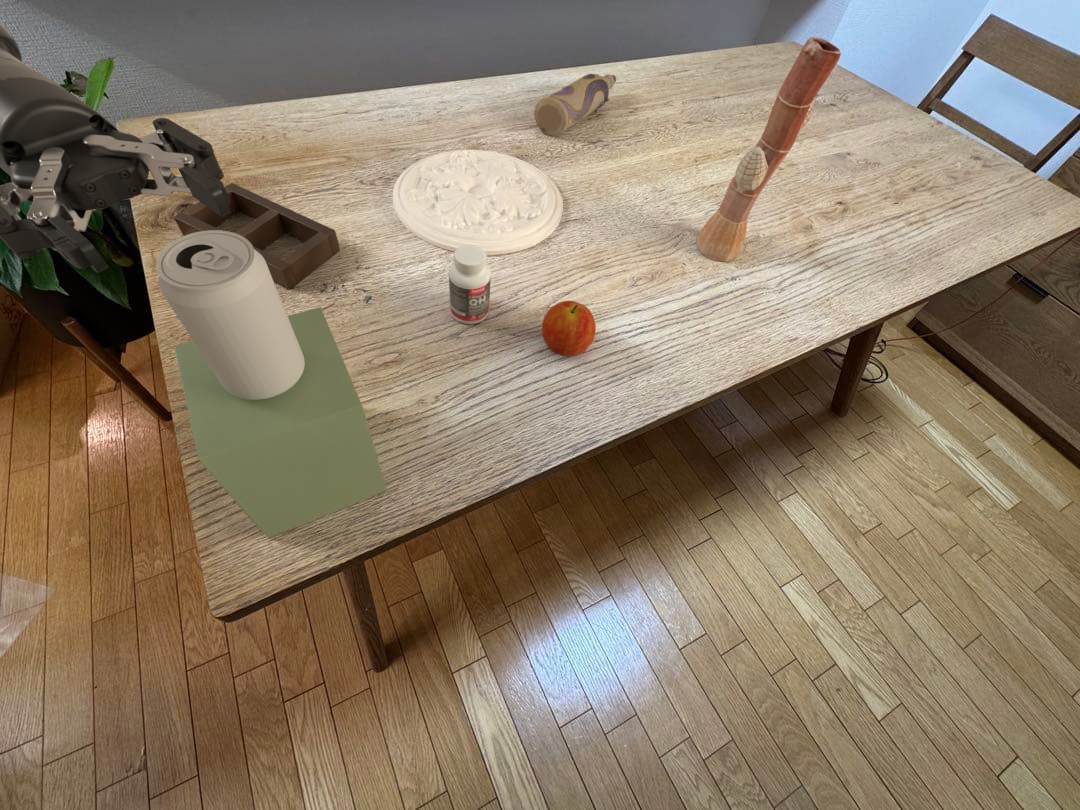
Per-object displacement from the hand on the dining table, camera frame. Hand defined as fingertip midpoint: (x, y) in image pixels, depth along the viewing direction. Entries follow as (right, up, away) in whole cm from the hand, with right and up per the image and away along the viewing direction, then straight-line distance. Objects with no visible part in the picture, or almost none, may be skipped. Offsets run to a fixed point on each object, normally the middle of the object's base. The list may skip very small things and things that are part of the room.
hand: (163, 229), depth 34 cm
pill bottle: (+15, +1, +37) cm, 40 cm away
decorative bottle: (+34, +48, +72) cm, 93 cm away
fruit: (+28, -4, +35) cm, 45 cm away
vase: (+56, +15, +52) cm, 78 cm away
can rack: (-15, +11, +40) cm, 44 cm away
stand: (+1, -18, +21) cm, 28 cm away
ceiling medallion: (+15, +22, +52) cm, 58 cm away
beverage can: (+3, -9, +8) cm, 13 cm away
